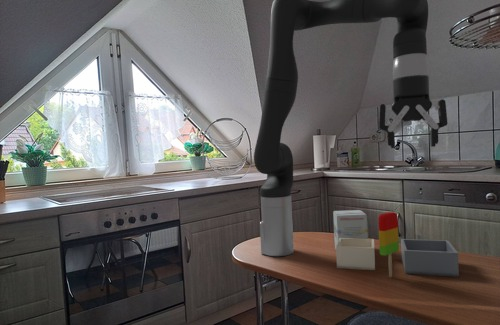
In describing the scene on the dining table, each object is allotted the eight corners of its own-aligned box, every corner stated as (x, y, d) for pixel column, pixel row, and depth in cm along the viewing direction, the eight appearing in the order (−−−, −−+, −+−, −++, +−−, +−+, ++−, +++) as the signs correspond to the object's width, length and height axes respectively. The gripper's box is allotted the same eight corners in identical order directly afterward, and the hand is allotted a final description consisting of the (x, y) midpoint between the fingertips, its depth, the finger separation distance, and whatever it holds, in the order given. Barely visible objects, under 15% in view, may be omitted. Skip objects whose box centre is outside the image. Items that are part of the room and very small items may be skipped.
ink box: (362, 247, 108) (361, 208, 108) (369, 255, 100) (367, 213, 99) (334, 247, 109) (332, 209, 109) (338, 256, 101) (336, 214, 100)
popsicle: (387, 281, 80) (384, 215, 80) (379, 278, 82) (377, 214, 81) (400, 275, 83) (398, 211, 83) (393, 273, 85) (391, 211, 85)
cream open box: (336, 268, 91) (336, 246, 90) (340, 257, 99) (339, 237, 99) (375, 270, 88) (374, 248, 87) (374, 259, 96) (374, 239, 96)
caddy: (405, 273, 84) (404, 250, 84) (401, 259, 95) (400, 239, 95) (458, 276, 81) (458, 252, 80) (448, 261, 91) (448, 240, 91)
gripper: (378, 77, 80) (380, 148, 81) (448, 70, 76) (450, 146, 76) (377, 83, 88) (379, 148, 88) (441, 76, 83) (443, 146, 84)
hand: (412, 147), depth 82 cm, fingers open, 8 cm apart
